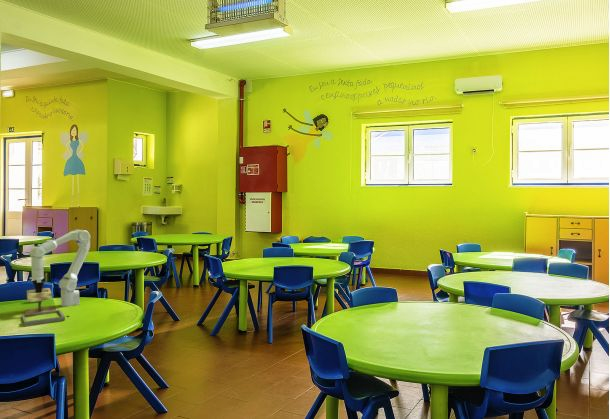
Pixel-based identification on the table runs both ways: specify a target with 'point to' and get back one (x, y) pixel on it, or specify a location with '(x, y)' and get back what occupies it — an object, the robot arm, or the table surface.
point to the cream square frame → (39, 295)
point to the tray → (43, 321)
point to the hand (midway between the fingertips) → (38, 293)
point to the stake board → (39, 309)
